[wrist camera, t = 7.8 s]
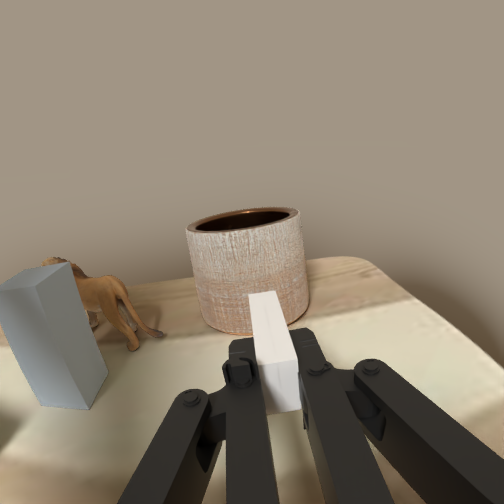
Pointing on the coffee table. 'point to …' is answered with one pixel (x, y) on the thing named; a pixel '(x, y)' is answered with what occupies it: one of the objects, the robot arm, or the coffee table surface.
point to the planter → (248, 264)
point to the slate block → (52, 336)
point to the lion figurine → (107, 302)
